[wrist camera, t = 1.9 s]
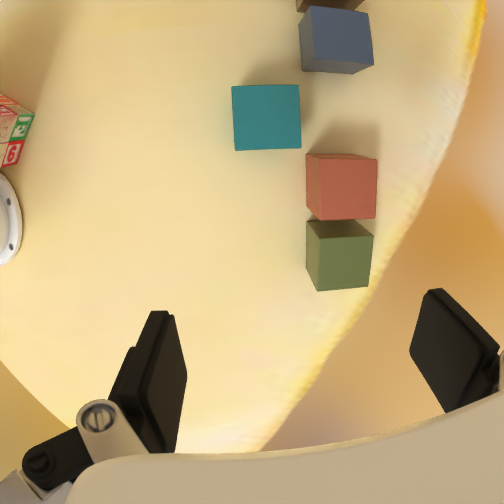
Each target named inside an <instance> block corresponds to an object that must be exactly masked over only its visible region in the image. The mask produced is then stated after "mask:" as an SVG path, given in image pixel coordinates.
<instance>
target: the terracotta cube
mask: <svg viewBox="0 0 504 504" xmlns="http://www.w3.org/2000/svg"><path fill="white" fill-rule="evenodd" d="M306 191H307V207H308V208H309V209H310V210H311V211H312V212H313V214H314V215H315V216H316V217H317V218H318V219H319V220H320V221H321V220H345V219H373V218H375V212H376V193H377V160H376V159H372V158H368V157H364V156H359V155H351V154H306Z"/></svg>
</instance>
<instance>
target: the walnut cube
mask: <svg viewBox="0 0 504 504" xmlns="http://www.w3.org/2000/svg"><path fill="white" fill-rule="evenodd" d="M363 1H364V0H296V7H297V12H306V11H307V10H308V8H309V6H320V7H329V8H337V9H344V10H351V11H353V10H354V9H355V8H357V7H358V6H359V5H360V4H361V3H362V2H363Z"/></svg>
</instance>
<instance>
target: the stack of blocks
mask: <svg viewBox="0 0 504 504" xmlns="http://www.w3.org/2000/svg"><path fill="white" fill-rule="evenodd" d="M33 117H34V114H33V113H32V112H30V111H28V110H27V109H25V108H23V107H22V106H20V105H19V104H18V103H16V102H15V101H13V100H11V99H9V98H8V97H6V96H4V95H3V94H1V93H0V168H3V167H7V166H10V165H14V164H16V163H17V161H18V158H19V155H20V152H21V149H22V146H23V143H24V139H25V137H26V134H27V132H28V129H29V127H30V124H31V122H32V120H33Z"/></svg>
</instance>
